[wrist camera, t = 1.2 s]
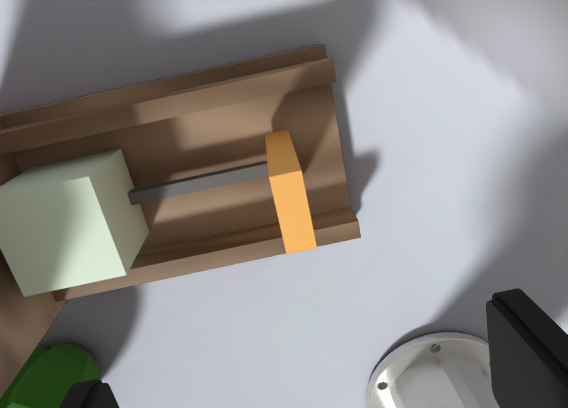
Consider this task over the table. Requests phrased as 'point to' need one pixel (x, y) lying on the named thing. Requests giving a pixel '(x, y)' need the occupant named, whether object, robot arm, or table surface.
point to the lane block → (120, 214)
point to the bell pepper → (49, 377)
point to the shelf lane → (185, 172)
